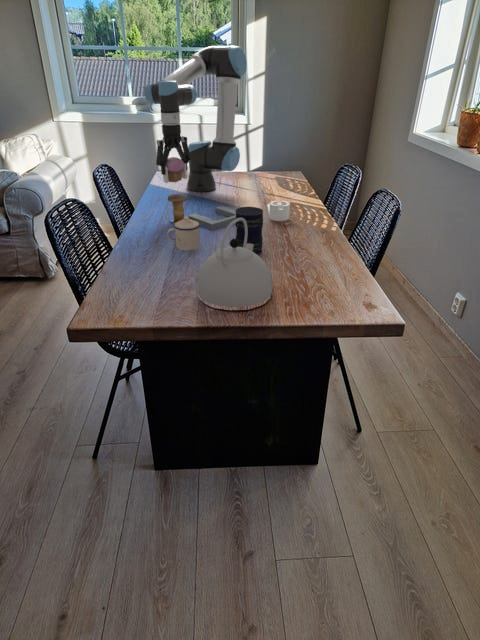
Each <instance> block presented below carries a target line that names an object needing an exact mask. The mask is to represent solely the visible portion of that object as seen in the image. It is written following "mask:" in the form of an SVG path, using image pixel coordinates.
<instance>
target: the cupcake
mask: <svg viewBox="0 0 480 640" xmlns="http://www.w3.org/2000/svg"><path fill="white" fill-rule="evenodd" d="M166 167H167V168H168V180H169V183H177V182H180V181H182V179H183V178H182V172H183V169H184V167H185V166H184V162H183V161H182V160H181V158H180V157H176V156H175V157H174V156H172V157H168V159H167V163H166Z"/></svg>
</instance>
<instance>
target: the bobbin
mask: <svg viewBox="0 0 480 640" xmlns="http://www.w3.org/2000/svg"><path fill="white" fill-rule="evenodd" d="M187 200H188V196H187V195H185V194H181V193H178V194H170V195H168V196H167V201H168V202H171V203H172V210H173V211H172V212H173V213H172V214H173V218H174V219H173V218H172V219H173V220H174V221H173V222H172V223H171V224H173V223H176V222H178V221H181V220H183V219H184V217H185V212H184V211H185V210H184V202H185V201H187Z"/></svg>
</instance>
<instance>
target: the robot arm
mask: <svg viewBox="0 0 480 640" xmlns="http://www.w3.org/2000/svg"><path fill="white" fill-rule="evenodd" d="M247 64H248V63H247V56H246V54H245V52H244V49H243V48H242V47H241V46H239V45H238V46H237V45H211V46H207V47H205V48H202V49H200V50H198V51H197V52H195V53H193V54H192V55H191V56H189V58H188V60H187V61H186V62H185V63H184V64H182V65H181V66H180V67H178V68H177V69H175V70H173V71H172V72H171V73H170V74H168V75H166V76H165V77H164V78H162V79H161V80H159V81H158V82H157V83H154V82H153V83H148V84H146V86H145V87H144V91H143V93H144V97H145V100H146V101H147V102H148V103H149V104H155V105H160V106H159V107H160V121H161V124H162V125H161V132H162V135H163V137H162V139H157V140H156V144H157V150H156V151H157V152H156V159H155V160H156V163H155V165H156V166H159V167H160V171H161V172H160V173H161V175H162V179H163V183H167V184H168V183H170V182H169V180H168V168H167V167H166V163H167V159H168V158H169V156H170V152H171V151H172V149H176V152H177V154H178V156H179V159H181V160H182V161H183V162H184V166H185V167H184V169H183V172H182V179H184V180H187V182H186V189H187V190H189V191H192V192H197V193H198V192H210V191H214V190H216V188H217V186H216V181H215V178H214V175H213V171H214V170H216V171H222V172H233V171H234V170H235V169H236V168H237V167H238V165H239V163H240V158H241V153H240V149H239V148H238V147H237V142H236V141H235V139H234V135H235V119H236V104H237V103H236V102H237V90H238V85H239V83H240V82H241V78H242V76H244V75H245V74H246V71H247ZM207 75H211V76H212V75H215V79H216V81H217V82H218V89H217V92H218V93H217V107H216V108H217V110H216V126H215V127H216V128H215V130H216V131H215V138H214V139H213V140H212V141H211V140H201V141H194V142H190V143H189V144H188V137H187V136H183V135H181V134H182V130H181V129H182V128H181V124H180V123H181V117H180V107H182V106H190V105H192V104H194V103H195V102H196V101H197V98H198V93H197V89H196V88H195V86H194V85H192V84H190V83H192V82H193V81H195V80H197V78H203V77H204V76H207ZM188 165H189V166H188ZM188 167H189V169H188ZM187 171H189V175H188V174H187ZM187 175H188V177H187Z"/></svg>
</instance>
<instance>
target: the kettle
mask: <svg viewBox="0 0 480 640" xmlns="http://www.w3.org/2000/svg"><path fill="white" fill-rule="evenodd" d="M238 221H243V223H244V226H245V239H244V245H243V247H238V245H239V241H238V240H237V239H236V238H232V239H230V241H229V246H227V247H225V242H226V238H227V236H228V232H230V229H231V228H232V226H233V225H235V224H236V222H238ZM247 236H248V228H247V223H246V221H245V219H244V218H237V219H235V220H234V221H232V222H231V223H230V224H229V225H227V227H226V229H225V230H224V232H223V235H222V238H221V242H220V243H221V244H220V249H218V250H217V251H215V252H214V253H212V254H211V255H210V256H209V257H208V258H207V259H206V260H205V261H204V263H203V264H202V265H201V268H200V270H199V272H198V275H197V282H196V283H197V285H196V287H197V288H196V290H197V292H198V295H199V296H200V298H202V299H203V300H204V301H206V302H208V303H211V304H214V305H218V306H226V307H245V306H251V305H255V304H258V303H261V302H263V301H265V300H266V299H268V298H269V297H270V295H271V293H272V294H273V291H272V290H273V283H272V282H273V281H272V276H271V272H270V269H269V267H268V265H267V264H266V262H265V261H264V260H263V259H262V258H261V257H260V256H259V254H258V255H257V254H255V253H254V252H252V250H253V246H254V244H249V243H247ZM246 243H247V245H246ZM197 292H196V293H197Z"/></svg>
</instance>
